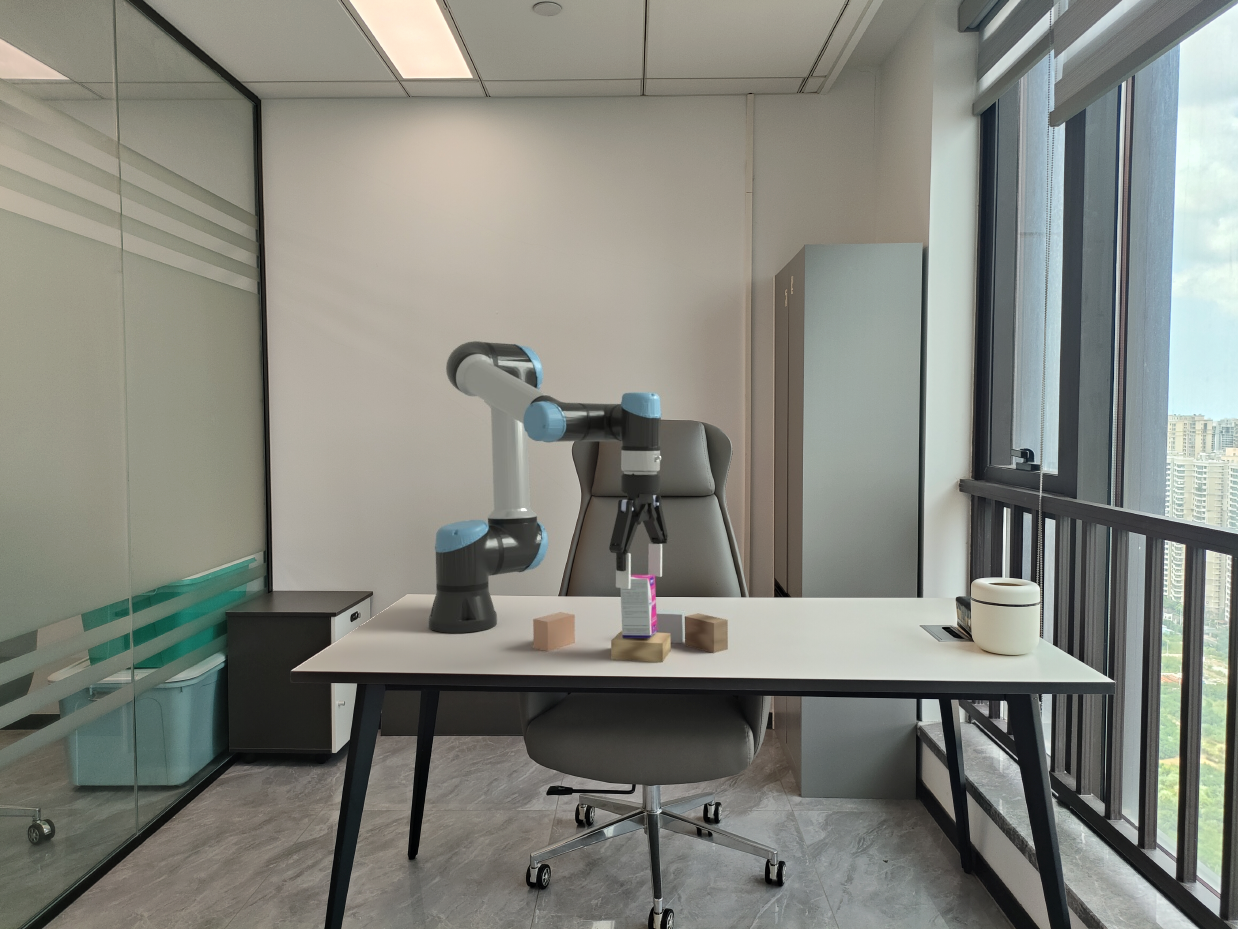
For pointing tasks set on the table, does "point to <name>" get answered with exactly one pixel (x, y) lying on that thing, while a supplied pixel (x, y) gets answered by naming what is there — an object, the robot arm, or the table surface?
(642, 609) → the supplement box
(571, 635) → the terracotta brick
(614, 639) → the oak block
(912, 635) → the table surface
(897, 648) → the table surface
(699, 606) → the table surface
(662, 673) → the table surface
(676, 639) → the grey painted brick
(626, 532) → the robot arm
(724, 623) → the walnut brick
